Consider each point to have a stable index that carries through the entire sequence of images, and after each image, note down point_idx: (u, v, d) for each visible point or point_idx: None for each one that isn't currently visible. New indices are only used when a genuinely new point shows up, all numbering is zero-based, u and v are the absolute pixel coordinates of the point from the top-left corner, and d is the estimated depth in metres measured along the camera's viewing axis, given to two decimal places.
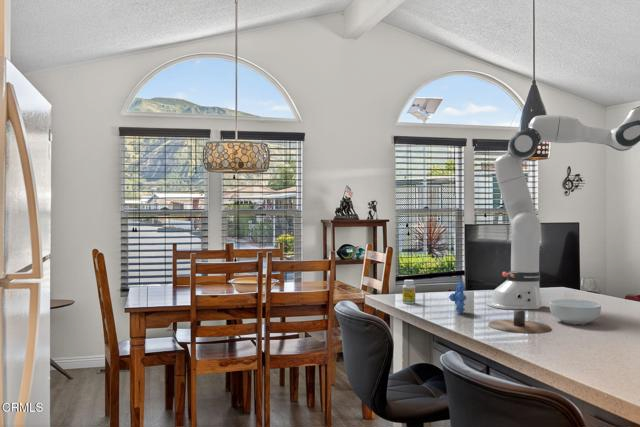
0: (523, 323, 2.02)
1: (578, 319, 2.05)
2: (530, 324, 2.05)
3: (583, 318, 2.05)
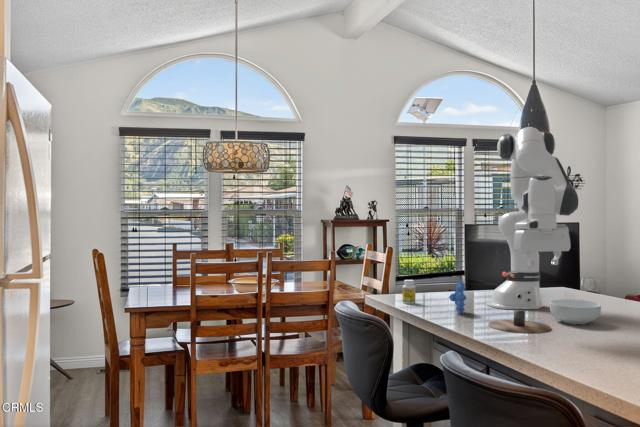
0: (523, 323, 2.02)
1: (578, 319, 2.05)
2: (530, 324, 2.05)
3: (583, 318, 2.05)
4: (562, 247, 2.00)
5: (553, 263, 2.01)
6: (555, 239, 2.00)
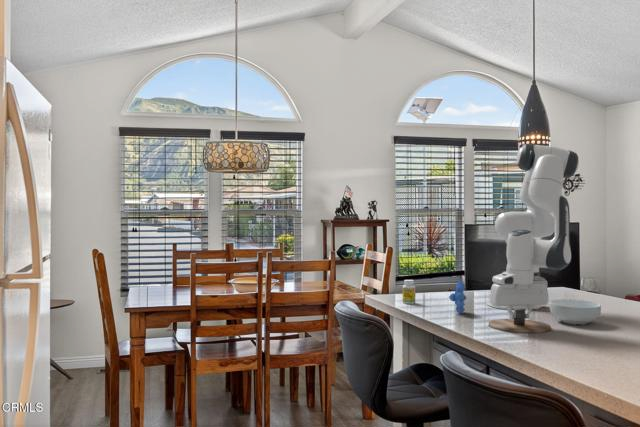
0: (523, 322, 2.02)
1: (578, 319, 2.05)
2: (530, 323, 2.05)
3: (583, 318, 2.05)
4: (539, 301, 2.03)
5: None
6: (532, 293, 2.02)
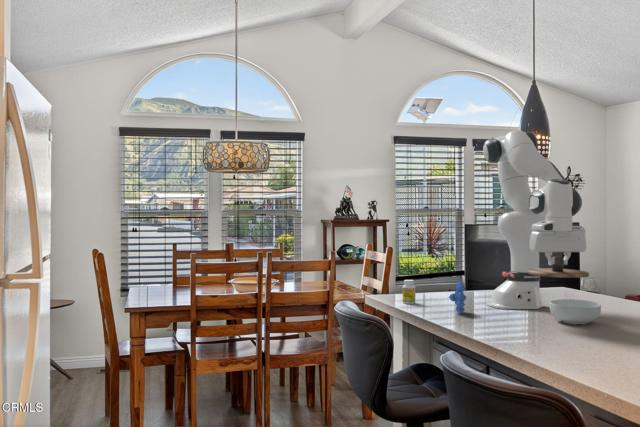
0: (562, 269, 2.08)
1: (578, 319, 2.05)
2: (568, 270, 2.11)
3: (583, 318, 2.05)
4: (577, 248, 2.09)
5: None
6: (571, 240, 2.09)
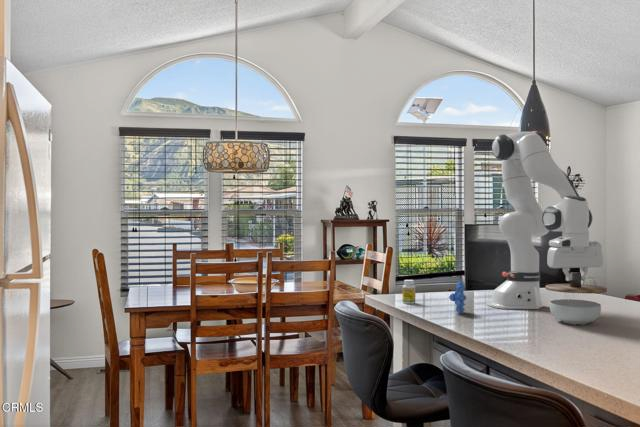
0: (580, 284, 2.10)
1: (578, 319, 2.05)
2: (585, 286, 2.13)
3: (583, 318, 2.05)
4: (594, 263, 2.11)
5: None
6: (587, 256, 2.11)
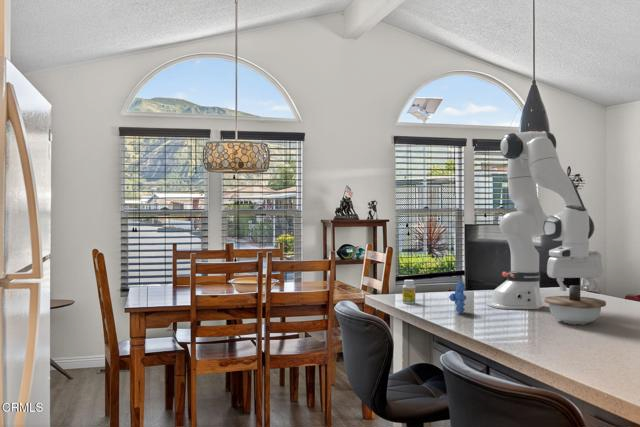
0: (579, 298, 2.11)
1: (578, 319, 2.05)
2: (585, 299, 2.14)
3: (583, 318, 2.05)
4: (594, 273, 2.12)
5: (585, 288, 2.13)
6: (587, 266, 2.11)
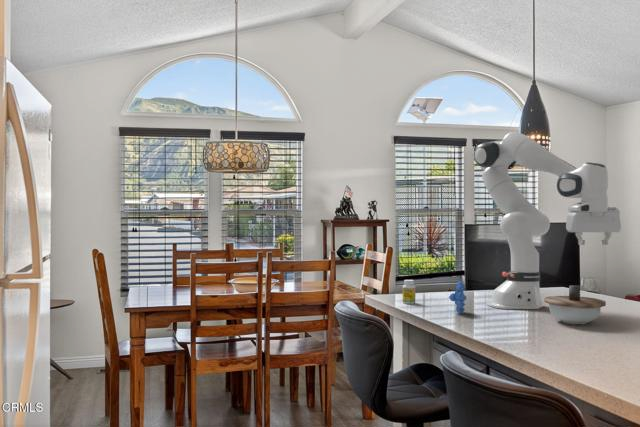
0: (579, 298, 2.11)
1: (578, 319, 2.05)
2: (584, 299, 2.14)
3: (582, 318, 2.05)
4: (612, 228, 2.18)
5: (603, 243, 2.19)
6: (606, 221, 2.17)
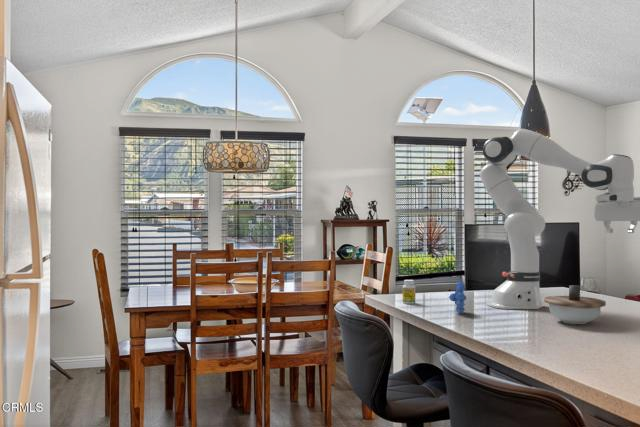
0: (578, 297, 2.11)
1: (577, 319, 2.05)
2: (584, 299, 2.14)
3: (582, 318, 2.05)
4: (638, 217, 2.28)
5: (630, 231, 2.29)
6: (632, 210, 2.27)
